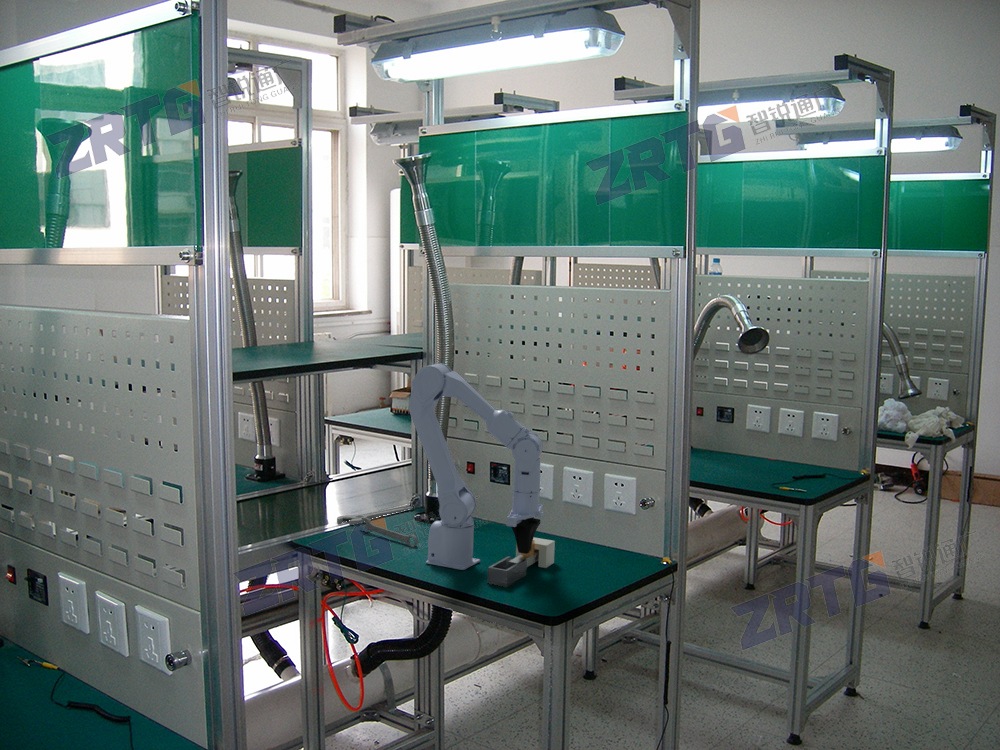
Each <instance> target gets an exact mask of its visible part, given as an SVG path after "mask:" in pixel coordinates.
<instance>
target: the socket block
mask: <svg viewBox="0 0 1000 750" xmlns="http://www.w3.org/2000/svg"><path fill="white" fill-rule="evenodd" d="M533 540H535V546H534V549H538V550H539V560H538V561H537V562H538V563H537V564H538V567H539V568H544V569H547V568H548V567H550V566H551V565H553V564H554V563H555V548H556V547H555V546H556V545H555V543H556V541H555V540H551V539H545V538H539V537H533ZM519 555H521V553H519V552H518V548H517V543H516V544H515V557H517V556H519Z"/></svg>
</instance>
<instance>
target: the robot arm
mask: <svg viewBox="0 0 1000 750" xmlns="http://www.w3.org/2000/svg"><path fill="white" fill-rule="evenodd" d="M441 397H449V398H456V399H458V400H459V402H462V403H463V404H464V405H466V407H468V408H469V409H470V410H472V412H474V413H475V414H476V415H477V416H479V417H480V418H481V419H482V420H484V421H485V428H486V431H488V432H489V433H490V434H491V435H492V436H493V438H495V439H496V440H497V441H499V442H500V443H501V444H502V445H503V446H505V447H506V448H507V450H511V454H512V457H513V458H514V469H513V479H512V480H513V482H512V484H513V486H512V505H511V506H512V507H511V508H512V509H511V510H510V513H509V515H508V516H506V523H505V525H506V526H507V527H510V528H511V530H512V532H513V535H514V537H515V542H516V543H517V548H518V552H519V553H524V554H527V553H529V551H530V548H531V545H532V541H533V537H534V536H535V534H536V532H537V530H538V528H539V527H540V525H541V519H540V518H541V517H543V516H545V515H544V514H545V512H544V505H543V504H540V490H541V488H540V487H541V457H540V456H541V454H542V452H543V448H544V446H543V441H542V440H541V438H540V437H539V436H538V434H537V433H534V432H531V429H530V428H529V427H524V426H523V424H521V423H520V422H519V421H517V419H515V418H514V416H515V413H513V412H512V411H508V412H507V411H506V410H505V409H495V408H494V407H493V406H492V404H490V403H489V402H488V401H487V400H486V398H484V397H483V396H482V395H481V394H480V393H479V392H478V391H477V390H476V389H475V388H474V387H472V385H470V383H468V381H467V380H465V379H464V378H463V377H462V376H461V374H459V373H458V372H456V371H454V370H452V369H451V368H450V366H448V365H447V364H445V363H443V362H442V363H441V362H437V363H432V364H431V365H426V366H425V365H424V366H423V367H421V368H420V369H419V370H417V373H416V374H415V376H414V377H413V379H412V381H411V393H410V399H409V404H408V411H409V414H410V418H411V421H412V422H413V426H414V427H415V431H416V433H417V435H418V437H419V441H420V444H421V447H422V448H423V450H424V453H425V456H426V459H427V461H428V462H427V463H428V465H429V466H430V467H429V468H430V469H431V473H432V475H433V478H434V480H435V484H436V485H437V486H436V487H437V490H436V491H437V496H436V497H437V500H438V504H439V507H438V509H439V510H438V513H439V518H440V520H435V521H434V522H432V523H431V525H430V527H429V531H428V539H427V541H428V542H427V545H428V547H427V560H426V561H425V563H426V564H428V565H433V566H438V567H445V568H450V569H454V570H459V571H465V570H467V569H468V568H470V567H472V566H474V565H476V564H478V563H480V562H481V559H480V558H474V557H473V555H474V533H475V531H474V530H475V528H474V526H475V521H474V519H473V516H472V514H473V513H475V510H476V507H477V500H476V497H475V495H473V493H472V492H471V491H470V490H469V489H468V488H467V485H466V482H465V481H464V480H463V479H462V477H460V475H459V472H458V470H457V468H456V465H455V462H454V460H453V456H452V454H451V452H450V449H449V446H448V443H447V441H446V437H445V435H444V432H443V431H442V428H441V425H440V423H439V420H438V417H437V415H436V412H435V408H436V407H437V405H438V403H439V400H441ZM537 517H538V518H537ZM534 538H535V537H534Z"/></svg>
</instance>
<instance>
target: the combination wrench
mask: <svg viewBox="0 0 1000 750" xmlns="http://www.w3.org/2000/svg"><path fill="white" fill-rule="evenodd" d="M361 519H362V520H363V521H365V523H366V524H364V525H365V526H364V528H365V529H367V530H370V532H374V533H377V534H381V535H382V536H386V537H388V538H392V539H394V540H397V541H400V542H403V543H405V544H407V546H409V547H413V548H414V547H417V545H418V543H419V540H418V537H417V536H416V535H415V534H410V535H408V534H407V535H406V534H402V533H399V532H398V531H397V532H396V531H393V530H390V529H388V528H385V527H382V526H378V525H374V524H373V522H371V520H370V519H369V518H361ZM360 526H362V524H361V525H359V527H360ZM411 538H413V539H414V544H412V543H411V540H410V539H411Z"/></svg>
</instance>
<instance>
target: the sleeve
mask: <svg viewBox="0 0 1000 750" xmlns="http://www.w3.org/2000/svg"><path fill="white" fill-rule="evenodd" d="M510 560H512V556H509V555H508V556H506V557H504V558H502V559H500V560H499V561H497V562H495V563H493V564H491V565H489V566H488V567H487V578H486V579H487V581H486V582H487V583H489V584H488V585H492V584H494V586H497V585H498V586H497V587H502V586H503V588H508V587H509V586H511V585H513V584H515V583H516V582H517V581H519V580H521V579H523V578H524V577H526V576H527V569H528V567H527V559H524V560H522V561H520V562H518V563H517V564H515V565H513V566H511V567H510V568H508V561H510ZM487 583H486V584H487Z"/></svg>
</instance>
